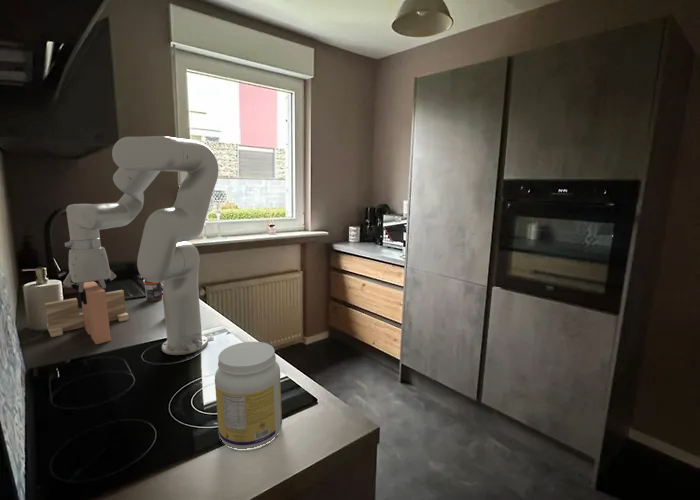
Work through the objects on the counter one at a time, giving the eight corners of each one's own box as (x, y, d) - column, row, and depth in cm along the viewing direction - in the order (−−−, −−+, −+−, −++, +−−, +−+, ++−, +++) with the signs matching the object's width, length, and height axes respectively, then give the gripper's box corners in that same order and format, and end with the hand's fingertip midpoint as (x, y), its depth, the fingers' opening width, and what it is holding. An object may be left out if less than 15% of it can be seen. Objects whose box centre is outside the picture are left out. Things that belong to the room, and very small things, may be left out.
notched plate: (111, 340, 118) (105, 290, 115) (96, 344, 115) (89, 293, 112) (99, 326, 129) (93, 280, 126) (85, 329, 126) (79, 282, 123)
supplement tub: (237, 410, 82) (232, 337, 79) (291, 417, 80) (288, 341, 77) (205, 449, 70) (199, 365, 67) (268, 458, 68) (264, 371, 65)
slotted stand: (129, 319, 135) (126, 292, 133) (51, 337, 120) (46, 307, 118) (122, 314, 141) (119, 287, 139) (47, 330, 126) (43, 301, 124)
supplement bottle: (154, 297, 161) (151, 271, 159) (165, 298, 159) (163, 272, 157) (142, 301, 156) (140, 274, 153) (154, 302, 154) (151, 275, 152)
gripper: (53, 249, 108) (62, 310, 112) (120, 242, 120) (126, 298, 123) (50, 246, 114) (58, 304, 117) (114, 240, 125) (120, 293, 128)
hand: (93, 301), depth 120 cm, fingers closed on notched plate, 4 cm apart
